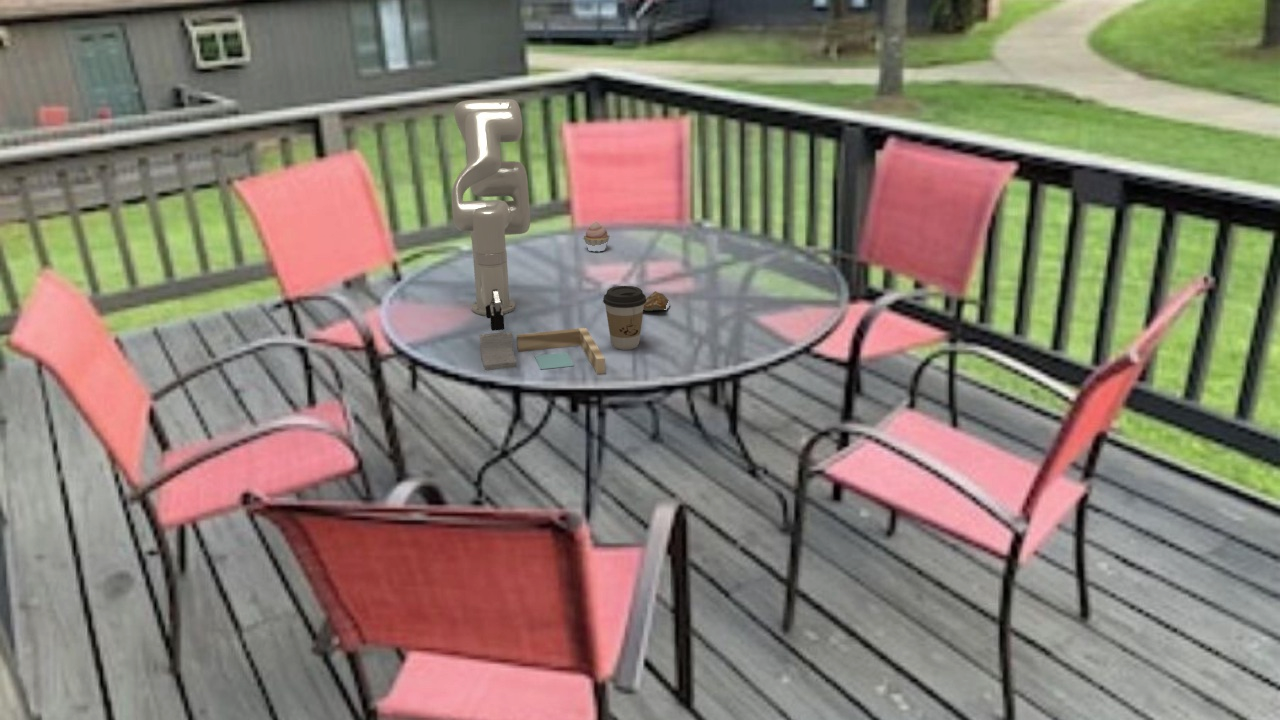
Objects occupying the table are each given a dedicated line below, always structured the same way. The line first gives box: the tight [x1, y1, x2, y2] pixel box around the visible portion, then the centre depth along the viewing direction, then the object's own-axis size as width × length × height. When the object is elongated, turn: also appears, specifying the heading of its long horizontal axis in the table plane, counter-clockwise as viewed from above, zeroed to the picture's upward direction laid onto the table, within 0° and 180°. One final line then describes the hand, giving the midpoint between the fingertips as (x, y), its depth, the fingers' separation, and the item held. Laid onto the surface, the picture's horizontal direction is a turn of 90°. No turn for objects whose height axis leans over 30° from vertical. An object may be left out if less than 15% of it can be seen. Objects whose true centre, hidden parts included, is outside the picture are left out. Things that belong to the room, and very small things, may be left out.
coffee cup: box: [602, 285, 647, 351], centre depth 261 cm, size 11×11×15 cm
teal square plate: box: [534, 352, 575, 371], centre depth 253 cm, size 9×8×1 cm
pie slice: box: [643, 291, 670, 312], centre depth 289 cm, size 10×4×15 cm
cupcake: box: [583, 221, 610, 246], centre depth 343 cm, size 9×9×10 cm
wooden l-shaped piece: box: [516, 327, 606, 375], centre depth 253 cm, size 22×18×4 cm
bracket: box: [479, 331, 518, 371], centre depth 251 cm, size 8×7×7 cm
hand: (495, 323), depth 250 cm, fingers open, 9 cm apart
